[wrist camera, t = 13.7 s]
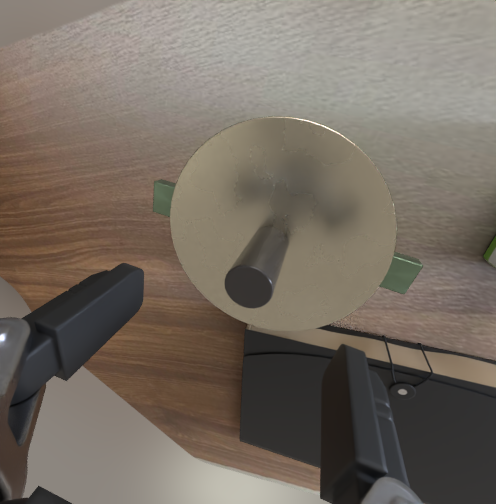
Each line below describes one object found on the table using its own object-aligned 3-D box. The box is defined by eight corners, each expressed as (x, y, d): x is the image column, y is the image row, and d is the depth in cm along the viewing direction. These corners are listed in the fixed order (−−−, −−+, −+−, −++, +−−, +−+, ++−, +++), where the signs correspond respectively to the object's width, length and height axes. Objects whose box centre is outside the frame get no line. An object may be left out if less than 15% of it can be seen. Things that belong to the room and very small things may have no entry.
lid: (189, 90, 15) (103, 64, 9) (446, 155, 13) (543, 173, 7) (171, 284, 22) (116, 339, 16) (336, 346, 20) (341, 433, 14)
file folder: (644, 424, 20) (494, 537, 31) (595, 379, 23) (477, 495, 34) (243, 330, 27) (238, 448, 38) (253, 306, 31) (246, 421, 42)
